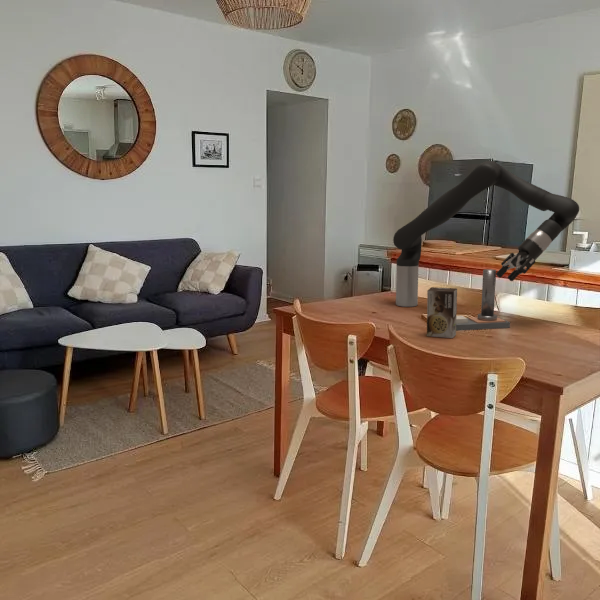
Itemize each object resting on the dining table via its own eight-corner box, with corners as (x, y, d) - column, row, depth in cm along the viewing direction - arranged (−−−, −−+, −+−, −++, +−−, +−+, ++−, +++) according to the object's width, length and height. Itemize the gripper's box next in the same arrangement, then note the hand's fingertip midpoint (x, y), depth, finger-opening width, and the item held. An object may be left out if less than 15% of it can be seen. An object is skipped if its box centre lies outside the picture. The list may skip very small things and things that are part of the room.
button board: (440, 324, 214) (440, 319, 214) (496, 321, 217) (496, 316, 217) (451, 330, 204) (451, 325, 204) (509, 327, 208) (510, 322, 207)
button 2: (467, 322, 215) (468, 317, 214) (494, 321, 216) (494, 316, 216) (477, 327, 207) (477, 322, 206) (505, 326, 208) (505, 320, 208)
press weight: (474, 317, 214) (476, 269, 211) (491, 316, 215) (493, 268, 212) (482, 321, 207) (485, 271, 204) (500, 320, 208) (503, 271, 205)
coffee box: (456, 334, 200) (458, 288, 196) (452, 338, 194) (454, 291, 191) (429, 331, 203) (431, 286, 200) (425, 336, 198) (427, 289, 194)
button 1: (448, 321, 212) (448, 316, 211) (461, 321, 212) (461, 315, 212) (454, 324, 207) (454, 319, 206) (467, 324, 208) (467, 318, 207)
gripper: (518, 236, 215) (487, 268, 215) (539, 239, 201) (506, 273, 201) (530, 250, 216) (500, 281, 217) (552, 254, 203) (520, 288, 203)
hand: (503, 277), depth 209 cm, fingers open, 8 cm apart
